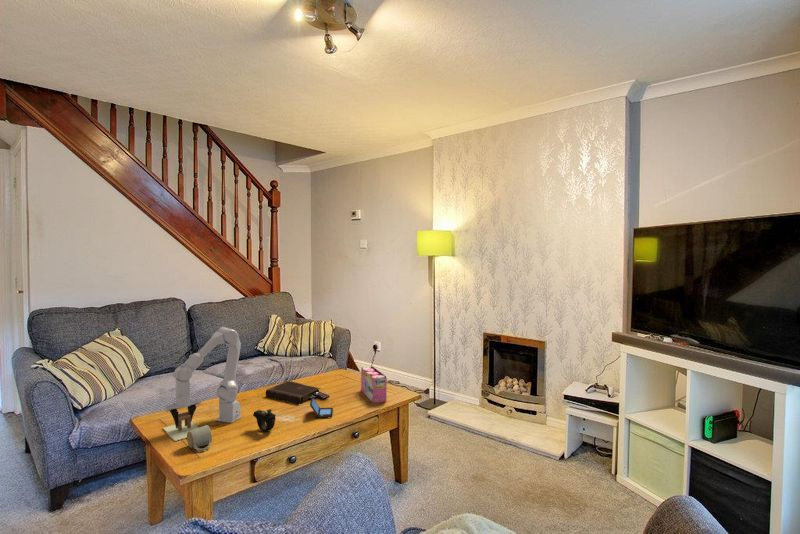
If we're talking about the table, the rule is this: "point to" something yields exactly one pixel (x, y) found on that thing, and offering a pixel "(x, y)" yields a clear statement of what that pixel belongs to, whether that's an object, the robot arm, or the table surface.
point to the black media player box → (291, 392)
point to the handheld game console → (321, 410)
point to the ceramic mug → (199, 438)
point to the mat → (177, 434)
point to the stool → (186, 417)
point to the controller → (265, 419)
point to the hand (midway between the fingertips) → (183, 423)
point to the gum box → (373, 384)
